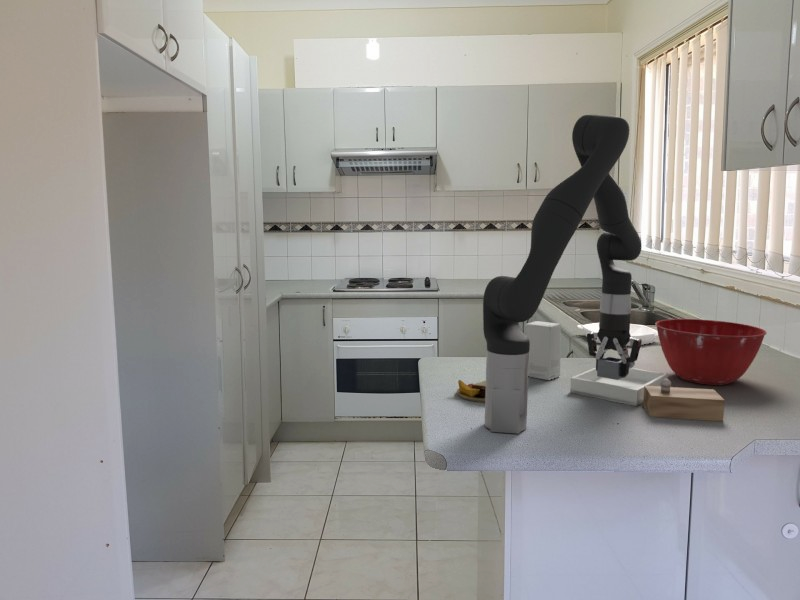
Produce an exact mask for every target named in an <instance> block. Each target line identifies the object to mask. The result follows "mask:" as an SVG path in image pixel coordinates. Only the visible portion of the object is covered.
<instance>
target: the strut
mask: <svg viewBox="0 0 800 600" xmlns="http://www.w3.org/2000/svg"><path fill="white" fill-rule="evenodd" d="M635 363H636V361H634V362H630V363H629V369H630V368H634V367H635ZM621 364H622V360H621V358H620V357H616V356H608V355H606V356H604V357H603V358H601V359H598V366H597V376H598V377H604V378H609V379H615V380H619V379H621V378H622V377H621Z"/></svg>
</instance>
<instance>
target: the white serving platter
mask: <svg viewBox="0 0 800 600" xmlns="http://www.w3.org/2000/svg"><path fill="white" fill-rule="evenodd" d="M576 327H577V328H578V329H579V330H583V334H584V335H585V337H586V338H587V334H588V333H591V332H594V333H598V331H599V322H593V323H586V324H577V326H576ZM629 333H630V336H631V337H632V338H635V339H641V340H642V342H641V346H645V345H644V344H646V345H650V344H649V343H651V344H654V343H655V341H656V339H657V337H659V336H658V331H657V329H654V328H651V327H649V326H646V325H644V324H634V323H630V330H629ZM653 342H654V343H653ZM596 344H601V342H600V340H599V338H598V337H597V340H596ZM626 347H632V346H631V343H630V341H629V342H628V343H627V345H626Z"/></svg>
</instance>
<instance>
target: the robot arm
mask: <svg viewBox="0 0 800 600" xmlns="http://www.w3.org/2000/svg"><path fill="white" fill-rule="evenodd" d="M571 132H572V133H571V134H572V135H571V141H572V144H573V145H572V147H573V149H574V152H575V155H576V157H577V160H578V163H579V164H580V168H579V169H578V170H576V171H575V172H574V173H573V174H571V175H570V176H569V177H567V178H565V179H564V180H562V181H561V182H560V183H559V184H557V185H556V186H555V187H554V188H552V189H551V190H550V191H549V192H548V193H547V194H546V196H545V197H544V199H543V201H542V203H541V204H540V206H539V208H538V209H537V211H536V213H535V215H534V217H533V220H532V224H531V230H530V231H531V232H530V233H531V234H530V249H529V254H528V256H527V258H526V260H525V263H524V264H523V266H522V268H521V270H520V271H519V273H518V274H517V275H516V276H515V277H513V276H507V275H499V276H496V277H493V278H492V279H491V280H490V281H489V282H488V283H487V285H486V287H485V289H484V293H483V298H482V299H483V300H482V311H483V312H482V322H483V323H482V324H483V325H482V327H483V336H484V340H485V342H486V360H485V361H486V362H485V365H486V366H485V367H486V368H485V381H486V390H485V402H484V427H485V428H487V429H488V430H489V431H490V432H491V433H506V434H520V432H524V431H525V430H526V429H527V425H528V423H527V422H528V421H527V419H528V397H529V396H528V395H529V377H528V375H529V351H530V341H529V339H528V337H527V336H526V335H525V333H524V332H523V330H522V328H521V326H520V323H523V322H526V321H528V320H529V319H531V318H532V317H533V316H534V315H535V314H536V312H537V310H538V308H539V307H540V304H541V302H542V301H543V298H544V295H545V293H546V290H547V288H548V286H549V283H550V282H551V279H552V276H553V275H554V271H555V269H556V267H557V265H558V264H559V262H560V260H561V258H562V256H563V254H564V251H566V248H567V246H568V245H569V243H570V241H571V239H572V238H573V236H574V234H575V233H576V230H577V229H578V227H579V226H580V224H581V222H582V220H583V218H584V216H585V214H586V212H587V209H588V208H589V206H590V204H591V202H592V200H594V205H595V208H596V209H595V210H596V214H597V219H598V223H599V227H600V228H601V230H602V231H603V233H601V234H600V235H599V237H598V238H597V241H596V251H597V255H598V259H599V264H600V269H601V274H602V278H601V279H602V281H601V282H602V283H601V284H602V286H601V296H600V301H599V302H600V304H599V320H598V321H599V322H598V323H599V331H598V333H594V332H591V333H588V334H587V337H586V340H587V347H588V354H589V356H590V357H594V358H595V367H596V371H597V366H598V359H601V358H603V357H605V355H606V352H607V351H609V350H612V351H616V352H617V354H618V356H619V358H621V360H622V364H621V377H622V378H624V377H626V376H627V375H628V374H629V363H630V362H636V361H638V358H639V354H640V351H641V350H640V349H641V346H642V345H641V342H642V340H641V339H635V338H632V337H631V336H630V333H629V330H630V324H631V315H632V314H631V312H632V295H631V294H632V293H631V292H632V281H633V280H632V279H633V278H632V277H633V276H632V273H631V271H629V270H626V269H623V268H620V267H618V266H616V264H615V262H614V261H625V262H626V261H627V262H628V261H629V262H631V261H634V260H636V259H637V258H638V257H639V256H640V255H641V253H642V241H641V237H640V235H639V233H638V232H637V230H636V228H635V226H634V225H633V223H632V220H631V219H630V216H629V215H630V214H629V211H628V205H627V201H626V200H627V199H626V196H625V194H624V192H623V190H622V188H621V187H620V185H619V184H618V182H617V181H616V180H615V178H614V177H613V176H612V174H611V173H610V172H611V170H612V169H613V167H615V165H616V163H617V162H618V160H619V159H620V157H621V156H622V154H623V152H624V150H625V148H626V146H627V144H628V141H629V138H630V137H629V136H630V125H629V123H628V121H627V119H625V118H623V117H620V116H616V115H603V114H602V115H601V114H584V115H582V116H580V117H579V118H578V119H577V120H576V122H575V124H574V126H573V128H572V131H571ZM597 337H598V338H599V340H600V342H601V343H600V344H599V347H597V343H596V340H597ZM629 341H630V343H631V346H630V347H631V348H630V349H631V350H630V354H629V350H628V346H626V345H627V343H628V342H629Z"/></svg>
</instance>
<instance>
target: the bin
mask: <svg viewBox="0 0 800 600" xmlns="http://www.w3.org/2000/svg"><path fill="white" fill-rule="evenodd" d="M668 376H669V375H668V373H665V372H658V371H653V370H647V369H641V368H635V367H632V368H630V369H629V374H628V375H627V376H626V377H624V378H621V379H619V380H615V379H609V378H604V377H598V376H597V371H596V366H595V367H593V368H590V369H589V370H586V371H584V372H583V371H582V373H581V372H580V373H578V374H576V375H574V376H572V377H571V378H570V386H569V389H570V390H569V391H570V393H571V394H577V395H580V396H585V397H586V396H587V397H591V398H596V399H600V400H605V401H609V402H610V401H611V402H614V403H615V402H616V403H618V404H619V403H621V404H624V405H628V406H635V407H637V406H639V405H641V404H643V399H644V386H661V384H660V383H661V381H662V380H663V379H668Z"/></svg>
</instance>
